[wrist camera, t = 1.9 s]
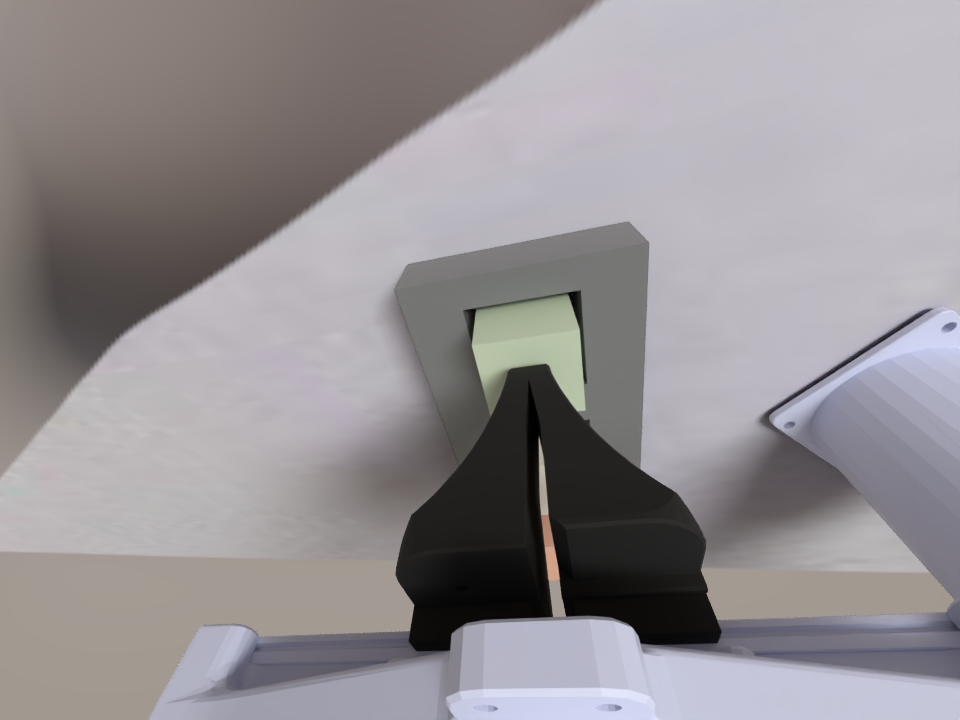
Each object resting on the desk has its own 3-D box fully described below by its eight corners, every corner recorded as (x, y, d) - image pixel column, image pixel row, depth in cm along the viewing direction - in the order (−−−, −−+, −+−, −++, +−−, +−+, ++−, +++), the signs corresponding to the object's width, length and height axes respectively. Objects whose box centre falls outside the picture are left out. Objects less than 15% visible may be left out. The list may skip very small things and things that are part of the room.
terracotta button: (588, 528, 24) (598, 577, 22) (531, 532, 25) (534, 581, 22) (585, 493, 22) (595, 543, 20) (523, 498, 23) (525, 548, 20)
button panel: (626, 518, 26) (636, 555, 24) (495, 528, 27) (495, 563, 25) (628, 221, 15) (649, 242, 13) (407, 264, 16) (394, 289, 14)
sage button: (573, 364, 17) (585, 410, 14) (493, 375, 17) (492, 421, 15) (566, 290, 15) (579, 329, 12) (476, 305, 15) (471, 345, 13)
